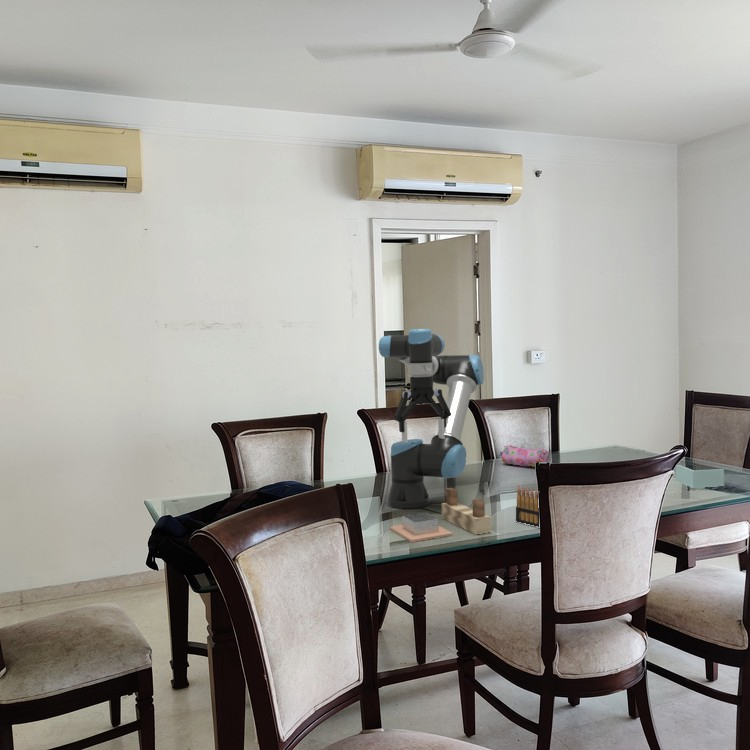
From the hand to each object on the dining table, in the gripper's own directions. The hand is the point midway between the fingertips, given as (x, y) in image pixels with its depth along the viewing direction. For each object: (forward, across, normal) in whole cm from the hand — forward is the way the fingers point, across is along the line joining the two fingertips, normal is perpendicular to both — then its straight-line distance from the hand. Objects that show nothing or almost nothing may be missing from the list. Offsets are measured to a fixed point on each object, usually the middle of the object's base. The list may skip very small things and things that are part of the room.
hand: (423, 440), depth 227 cm
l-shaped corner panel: (+27, +110, -11) cm, 114 cm away
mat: (+27, -8, -12) cm, 30 cm away
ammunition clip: (+27, +26, -22) cm, 43 cm away
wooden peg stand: (+27, +8, -12) cm, 30 cm away
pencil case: (+27, +78, +56) cm, 100 cm away
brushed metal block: (+26, -8, -12) cm, 30 cm away
